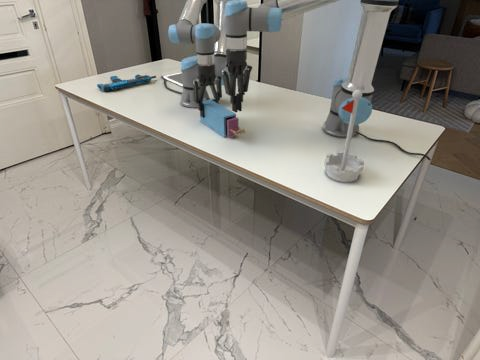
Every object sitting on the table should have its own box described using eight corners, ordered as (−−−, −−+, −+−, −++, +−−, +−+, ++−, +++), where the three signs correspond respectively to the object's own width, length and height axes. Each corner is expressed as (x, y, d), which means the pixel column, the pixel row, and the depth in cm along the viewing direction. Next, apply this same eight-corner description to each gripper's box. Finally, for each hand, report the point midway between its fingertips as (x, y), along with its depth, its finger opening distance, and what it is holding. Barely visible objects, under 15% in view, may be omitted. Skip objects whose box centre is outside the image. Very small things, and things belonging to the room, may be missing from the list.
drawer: (245, 139, 141) (245, 122, 137) (235, 142, 139) (235, 125, 134) (214, 119, 158) (214, 104, 154) (205, 121, 156) (204, 106, 152)
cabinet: (236, 134, 147) (236, 113, 142) (224, 137, 144) (223, 117, 139) (211, 118, 162) (210, 99, 157) (200, 121, 159) (199, 102, 154)
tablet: (160, 77, 217) (160, 76, 217) (187, 71, 229) (187, 71, 228) (188, 89, 197) (188, 88, 197) (215, 82, 208) (215, 81, 208)
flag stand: (346, 161, 127) (361, 81, 110) (369, 179, 117) (390, 94, 100) (316, 168, 123) (327, 86, 106) (337, 186, 113) (353, 99, 96)
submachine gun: (141, 69, 223) (160, 75, 207) (142, 74, 225) (161, 81, 209) (89, 79, 205) (105, 87, 188) (91, 85, 207) (107, 93, 190)
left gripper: (220, 58, 151) (222, 108, 164) (181, 65, 142) (186, 117, 155) (229, 62, 146) (230, 113, 158) (190, 69, 137) (194, 122, 149)
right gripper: (246, 44, 128) (246, 104, 141) (213, 49, 122) (216, 111, 134) (258, 48, 123) (256, 109, 136) (225, 53, 116) (226, 117, 129)
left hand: (209, 114), depth 156 cm, fingers closed on cabinet, 6 cm apart
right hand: (236, 110), depth 135 cm, fingers closed
